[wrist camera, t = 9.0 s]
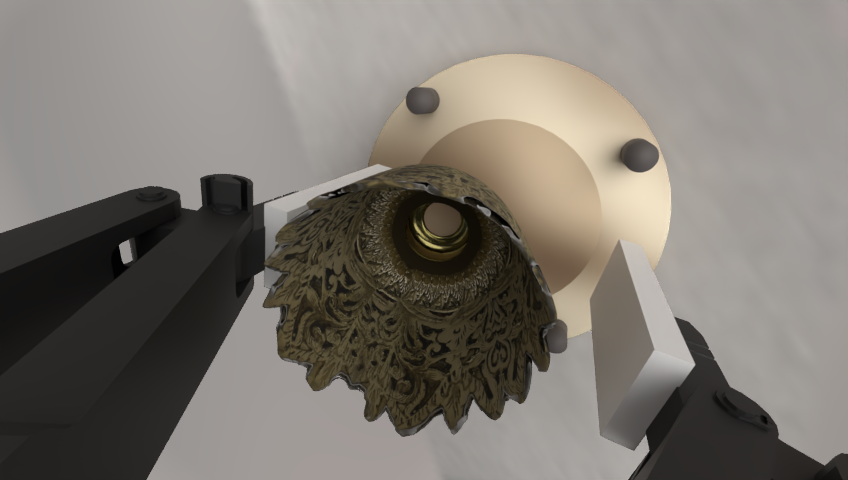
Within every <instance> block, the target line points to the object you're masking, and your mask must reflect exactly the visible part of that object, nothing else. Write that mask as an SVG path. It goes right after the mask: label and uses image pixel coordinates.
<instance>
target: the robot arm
mask: <svg viewBox="0 0 848 480" xmlns="http://www.w3.org/2000/svg"><path fill="white" fill-rule="evenodd" d="M390 169H392V168H389V167H386V166H383V165H380V164H376V165H373V166H370V167H368V168H365V169H362V170H359V171H356V172H353V173H351V174H348V175H345V176H342V177H339V178H336V179H333V180H331V181H328V182H325V183H322V184H319V185H316V186H313V187H311V188H308V189H305V190H302V191H297V192H292V193H289V194H286V195H283V197H281V196H280V197H277V198H275V199H274V200H269V201H266V202H263V203H260V204H257V205H254V206H253V182H252V181H251V180H250V179H248V178H245V177H242V176H238V175H231V174H214V175H208V176H204V177H202V178H201V179H200V180H201V193H202V205H203V206H202V207H201V208H200V209H199V210H197V211H196V210H190V209H185V208H181V200H180V194H179V193H178V192H177V191H174V190H171V189H166V188H162V187H157V186H156V187H154V186H148V187H144V188H139V189H134V190H130V191H127V192H124V193H121V194H118V195H115V196H112V197H108V198H106V199H102V200H99V201H97V202H93V203H90V204H87V205H84V206H81V207H78V208H75V209H72V210H70V211H66V212H64V213H60V214H57V215H55V216H51V217H48V218H45V219H43V220H40V221H36V222H33V223H30V224H27V225H24V226H21V227H18V228H15V229H12V230H9V231H6V232H3V233H0V480H146V479H147V478H148V476H149V474H150V472H151V470H152V469H153V467H154V465H155V463H156V461H157V460H158V458H159V456H160V454H161V452H162V450H163V449H164V447H165V445H166V443H167V442H168V440H169V438H170V436H171V435H172V433H173V431H174V429H175V427H176V426H177V424H178V422H179V420H180V418H181V416H182V415H183V413H184V411H185V409H186V407H187V406H188V404H189V402H190V400H191V399H192V397H193V395H194V393H195V391H196V390H197V388H198V386H199V384H200V382H201V381H202V379H203V377H204V375H205V374H206V372H207V370H208V368H209V366H210V365H211V363H212V361H213V359H214V358H215V356H216V354H217V352H218V350H219V349H220V346H221V345H222V343H223V341H224V340H225V338H226V336H227V334H228V332H229V331H230V329H231V327H232V325H233V323H234V322H235V320H236V318H237V316H238V315H239V313H240V311H241V309H242V307H243V305H244V304H245V302H246V300H247V298H248V297H249V295H250V293H251V291H252V289H253V286H254V275H256V274H258V273H259V272H261V271H263V270H264V287H266V288H269V289H271V286H272V284H274V283H275V282H276V281H277V279H278V278H279V277H280V276H281V273H280V272H274V270H272V269H269V268H267V267H266V266H265V265H264V262H265V261H266V259H267V258H268V257H269V256H270V255H271V254H272V253H273V251H274V250H275V246H276V245H277V244H278V242H275V239H276V238H275V236H276V234H277V233H278V232H279V231H280V229H281V228H282V227H283V226H284V225H285V224H287V223H288V222H289V221H290V220H291V219H293V218H295V217H296V216H298V215H299V214H301V213H302V212H304V211H306V210H307V209H308V206H307V204H306V203H307V202H308V201H310V200H312V199H313V198H315V197H317V196H318V195H321V194H324V193H327V192H330V191H334V190H337V189H339V188H341V187H344V186H346V185H349V184H351V183H354V182H356V181H359V180H361V179H364V178H367V177H369V176H372V175H375V174H377V173H380V172H383V171H386V170H390ZM127 240H129V242H130V247H131V253H132V258H133V260H132V261H131V262H129V263H126V264H123V262H122V259H121V254H120V249H119V244H121V243H122V242H124V241H127ZM590 312H591V325H592V338H593V351H594V364H595V376H596V389H597V402H598V415H599V428H600V436H602V437H604V438H606V439H608V440H611V441H613V442H615V443H617V444H620V445H622V446H624V447H626V448H629V449H631V450H633V451H634V450H635V449H636V447H637V446H638V445H639V443H640V442H641V440H642V439H643V438H644V436H645V435H646V436H647V440H648V445H649V450H650V451H649V452H648V454H647V455H646V456H645V458H644V459H643V461H642V462H641V463H640V465H639V466H638V467H637V469H636V470H635V471H634V473H633V474H632V475H631V477H630V478H629V479H628V480H848V454H843V453H841V454H839V455H837V456H835V457H834V458H833V459H832V460H831V461H830V462H829V463H828V464H826V465H825V466H824V465H822V464H821V463H819V462H817V461H815V460H814V459H812V458H810V457H808V456H807V455H805V454H803V453H801V452H800V451H798V450H796V449H794V448H793V447H791V446H789V445H787V444H786V443H784V442H783V441H781V440H779V439H778V436H779V433H778V429H777V425H776V424H775V422H774V421H773V420H772V418H771V417H770V416H769V414H768V413H767V412H766V411H764V410H763V409H762V408H761V407H760V406H759V405H758V404H757V403H756V402H754V401H753V400H751V399H750V398H748V397H747V396H745V395H744V394H742V393H741V392H739V391H737V390H735V389H733V388H731V387H730V386H729V384H728V382H727V381H726V379H725V377H724V375H723V373H722V371H721V369H720V368H719V366H718V364H717V362H716V361H715V360H714V356H713V354H712V353H711V351H710V350H708V349H709V347H708V345H707V343H706V341H705V340H704V338H703V336H702V335H701V334H700V333H699V332H698V331H697V330H696V329H695V328H694V327H693V326H692V325H691V324H690V323H689V322H687V321H684V320H682V319H679V318H676V317H674V316H673V314H672V312H671V310H670V307H669V305H668V303H667V301H666V299H665V296H664V294H663V292H662V290H661V287H660V285H659V283H658V281H657V279H656V276H655V274H654V272H653V270H652V268H651V265H650V263H649V261H648V259H647V257H646V254H645V252H644V250H643V248H642V246H641V245H638V244H635V243H632V242H628V241H625V240H622V239H619V240H618V242H617V244H616V246H615V248H614V250H613V253H612V255H611V257H610V259H609V261H608V263H607V265H606V267H605V269H604V271H603V273H602V275H601V277H600V279H599V281H598V283H597V285H596V287H595V289H594V292H593V294H592V296H591V298H590Z"/></svg>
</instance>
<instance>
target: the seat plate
mask: <svg viewBox="0 0 848 480" xmlns="http://www.w3.org/2000/svg"><path fill="white" fill-rule="evenodd" d="M376 164H380V165H383V166H386V167H389V168H392V169H393V168H396V167H401V166H406V165H415V164H436V165H442V166H447V167H451V168H455V169H458V170H460V171H463V172H465V173H468V174H469V175H471V176H473V177H475V178H477V179H478V180H480V181H481V182H483V183H484V184H486V185H487V186H488V187H489V188H490V189H492V190H493V191H494V192H495V193H496V194H497V195H498V196H499V197H500V199H501V200H502V201H503V202H504V203H505V204H506V206H507V207H508V209H509V210H510V211H511V213H512V214H513V216H514V218H515V220H516V221H517V223H518V225H519V227H520V229H521V231H522V233H523V234H524V236H525V239H526V241H527V243H528V245H529V247H530V249H531V251H532V253H533V255H534V258H535V260H536V262H537V263H538V265H539V267H540V270H541V272H542V274H543V277H544V279H545V281H546V283H547V285H548V288H549V290H550V293H551V295H552V298H553V301H554V304H555V307H556V311H557V322H556V325H555V327H554V328H552V329H548V331H547V343H548V348H549V352H551V353H562V352H564V351H565V350H566V348H567V339H569V338H572V337H575V336H578V335H581V334H583V333H585V332H587V331H589V330H591V329H592V325H591V312H590V298H591V296H592V294H593V292H594V289H595V287H596V285H597V283H598V281H599V279H600V277H601V275H602V273H603V271H604V269H605V267H606V265H607V263H608V261H609V259H610V257H611V255H612V253H613V250H614V248H615V246H616V244H617V242H618V240H619V239H622V240H625V241H628V242H632V243H635V244H638V245H641V246H642V248H643V250H644V252H645V254H646V257H647V259H648V261H649V263H650V265H651V268H652V270H653V272H654V270H655V267H656V265H657V263H658V261H659V259H660V257H661V254H662V252H663V249H664V245H665V242H666V239H667V235H668V232H669V224H670V216H671V190H670V183H669V178H668V173H667V168H666V164H665V161H664V158H663V156H662V153H661V151H660V148H659V145H658V143H657V141H656V139H655V137H654V136H653V134H652V132H651V131H650V129H649V127H648V125H647V124H646V122H645V121H644V119H643V118H642V117H641V116H640V114H639V113H638V112H637V111H636V110H635V108H634V107H633V106H632V105H631V103H630V102H628V101H627V100H626V99H625V98H624V97H623V96H622V95H621V94H619V93H618V92H617V91H616V90H615V89H614V88H613V87H612V86H610V85H608V84H607V83H605V82H604V81H602V80H601V79H599V78H598V77H596V76H595V75H593V74H591V73H589V72H587V71H585V70H583V69H580V68H578V67H576V66H574V65H571V64H569V63H566V62H562V61H559V60H555V59H551V58H548V57H542V56H534V55H526V54H499V55H493V56H487V57H481V58H476V59H473V60H470V61H466V62H463V63H460V64H457V65H454V66H452V67H450V68H448V69H446V70H444V71H442V72H440V73H438V74H436V75H435V76H433V77H432V78H430V79H429V80H427V81H426V82H424V83H423V84H421V85H420V86H418V87H415V88H412V89H411V90H410V91H409V92H408V94H407V96H406V98H405V99H404V100H403V101H402V102H401V104H400V105H399V106H398V107H397V108H396V109H395V111H394V112H393V113H392V114H391V116H390V117H389V119H388V121H387V122H386V124H385V125H384V127H383V128H382V130H381V132H380V134H379V137H378V139H377V141H376V143H375V145H374V148H373V151H372V154H371V157H370V160H369V165H368V167H370V166H373V165H376ZM424 221H425V225H426V227H427V228H428V229H429V230H430V231H431V232H432V233H434V234H436V235H439V236H448V235H451V234H453V233H454V232H456V230H457V229H458V228H459V226H460V222H461V217H460V213H459V212H458V211H457V210H455V209H454V208H452V207H450V206H448V205H445V204H441V203H433V204H431V205H430V206H429V207H428V208H427V210H426V211H425V215H424Z"/></svg>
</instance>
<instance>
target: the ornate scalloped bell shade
mask: <svg viewBox="0 0 848 480" xmlns="http://www.w3.org/2000/svg"><path fill="white" fill-rule="evenodd" d="M433 203H441V204H445V205H448V206H450V207H452V208H454V209H455V210H457V211H458V212H459V213H460V217H461V222H460V226H459V228H458V229H457V230H456V232H454V233H453V234H451V235H448V236H439V235H436V234H434V233H432V232H431V231H430V230H429V229H428V228H427V227H426V225H425V221H424V215H425V211H426V210H427V208H428V207H429V206H430V205H431V204H433ZM306 204H307V206H308V209H307V210H306V211H304V212H302V213H301V214H299V215H298V216H296V217H295V218H293V219H291V220H290V221H289V222H288V223H287V224H285V225H284V226H283V227H282V228H281V229H280V231H279V232H278V233H277V234H276V236H275V238H276V239H275V242H278V244H277V245H276V246H275V250H274V251H273V253H272V254H271V255H270V256H269V257H268V258H267V259H266V261H265V262H264V265H265V266H266V267H267V268H269V269H272V270H274V272H280V273H281V276H280V277H279V278H278V279H277V281H276V282H275V283H274V284H272V286H271V289H270V291H269V293H268V295H267V297H266V299H265V301H264V303H263V307H264V308H275V307H280V312H281V316H280V321H279V322H278V324H277V327H276V329H277V342H278V355H279V356H280V357H281V359H283V360H285V361H288V362H293V363H298V364H299V365H302V366H304V367H306V368H307V373H306V380H307V382H308V384H309V385H310V387H311V388H312V389H313V391H320V390H323V389H324V388H326V387H327V386H329V385H330V384H331V383H332V381H333V380H335V379H338V378H339V377H337V378H335V377H336V376H340V377H342V378H341V379H343V380H344V381H345V382H346V383H347V385H348V388H349V389H351V390H359V389H360V390H362V391H363V392H364V399H365V400H366V405H365V410H364V417H365V419H366V420H368V421H369V422H371V421H375V420H377V419H378V418H379V417H380V416H381V415H382V414H383V413H384V412H385V411H386V412H387V413H388V416H389V419H390V421H391V422H392V424H393V425H394V427H395V430H396V432H397V433H398V434H400V435H401V436H403V437H405V436H410V435H414V434H415V433H417V432H418V431H420V430H421V429H423V428H424V427H425V426H426V425H427V424H428V423H429V422H430V421H431V420H432V419H433V418H434V417H436V416H438V415H441V414H443V413H444V414H443V416H444V421H445V422H446V424H447V426H448V428H449V429H450V431H451V433H452V434H453V435H454V434H456V433H457V432H458V430H459V429H460V428H461V427H462V425H463V424H464V422H465V421H466V420H467V418H468V412H469V409H470V406H471V404H472V400H473V399H474V400H475V403H476V404H477V406H478V407H479V408H480V410H481V411H483V412H484V413H485V414H486V415H487V416H488V417H489V418H491V419H493V420H497V419H498V418H500V416H501V415H502V413H503V410H504V405H505V401H508V400H509V398H510V399H512V400H514V401H516V402H518V403H519V404H521V403H523V402H524V401H525V399H526V398H527V395H528V392H529V389H530V383H531V376H532V360H533V362H534V363H535V365H536V366H537V368H538V371H540V372H547V370H548V367H549V363H550V353H549V348H548V343H547V331H548V329H552V328H554V327H555V325H556V322H557V311H556V307H555V304H554V301H553V298H552V295H551V293H550V290H549V288H548V285H547V283H546V281H545V279H544V277H543V274H542V272H541V270H540V267H539V265H538V263H537V262H536V260H535V258H534V255H533V253H532V251H531V249H530V247H529V245H528V243H527V241H526V239H525V236H524V234H523V233H522V231H521V229H520V227H519V225H518V223H517V221H516V220H515V218H514V216H513V214H512V213H511V211H510V210H509V209H508V207H507V206H506V204H505V203H504V202H503V201H502V200H501V199H500V197H499V196H498V195H497V194H496V193H495V192H494V191H493V190H492V189H490V188H489V187H488V186H487V185H486V184H484V183H483V182H481V181H480V180H478V179H477V178H475V177H473V176H471V175H469V174H468V173H465V172H463V171H460V170H458V169H455V168H451V167H447V166H442V165H436V164H415V165H406V166H401V167H396V168H393V169H390V170H386V171H383V172H380V173H377V174H375V175H372V176H369V177H367V178H364V179H361V180H359V181H356V182H354V183H351V184H349V185H346V186H344V187H341V188H339V189H337V190H334V191H330V192H327V193H324V194H321V195H318V196H317V197H315V198H313V199H312V200H310V201H308V202H307V203H306ZM332 379H333V380H332ZM358 388H359V389H358ZM360 390H359V391H360ZM509 396H510V397H509Z"/></svg>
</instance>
